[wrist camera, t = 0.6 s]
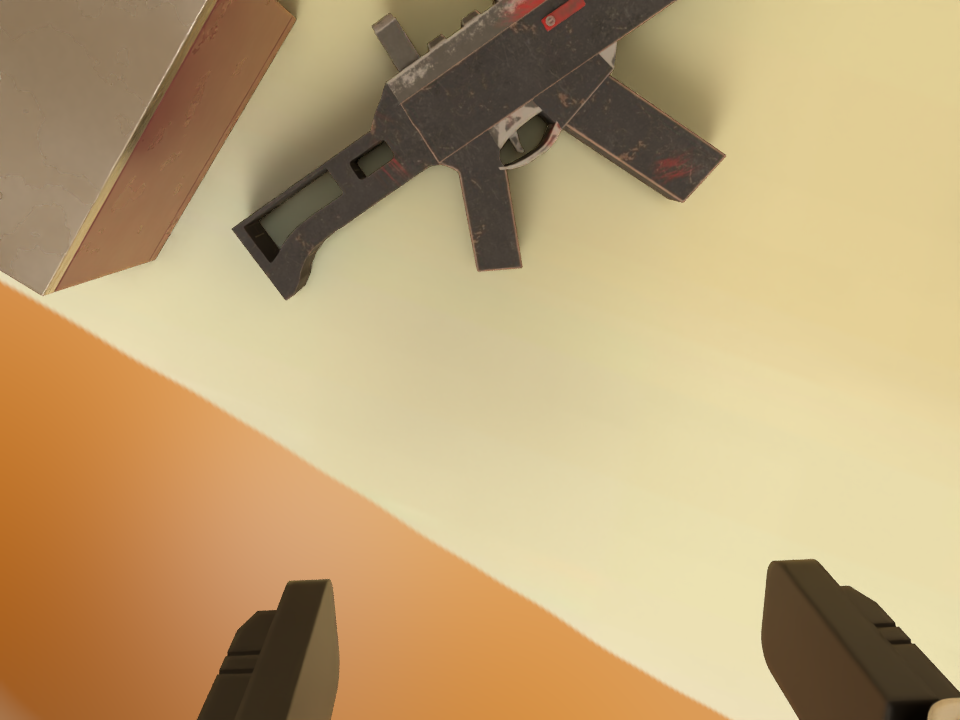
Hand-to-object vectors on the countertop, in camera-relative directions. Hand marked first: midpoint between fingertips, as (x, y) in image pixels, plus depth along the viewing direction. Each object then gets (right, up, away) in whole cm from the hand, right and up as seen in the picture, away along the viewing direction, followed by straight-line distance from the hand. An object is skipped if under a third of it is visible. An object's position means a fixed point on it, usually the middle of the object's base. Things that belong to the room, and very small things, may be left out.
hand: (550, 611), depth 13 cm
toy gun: (+2, +17, +24) cm, 29 cm away
